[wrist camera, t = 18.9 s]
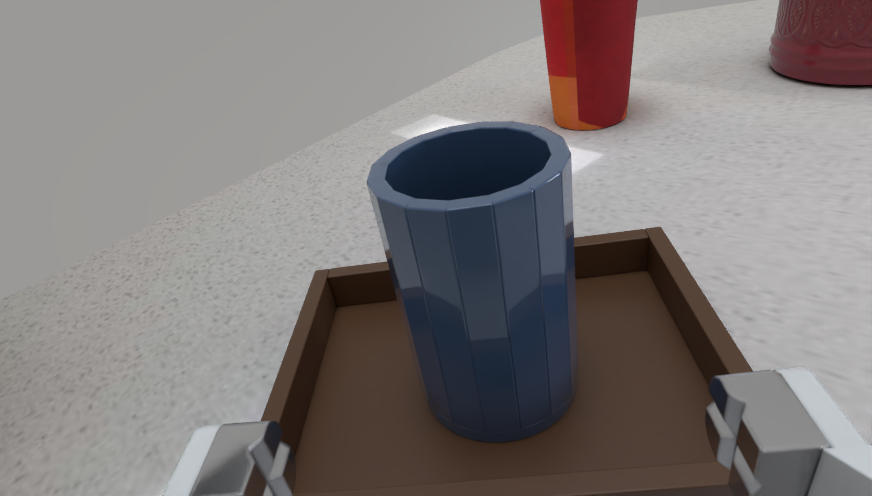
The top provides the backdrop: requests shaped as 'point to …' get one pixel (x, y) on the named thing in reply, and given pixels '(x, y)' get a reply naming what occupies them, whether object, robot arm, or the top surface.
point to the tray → (536, 455)
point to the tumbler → (484, 273)
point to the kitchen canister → (824, 41)
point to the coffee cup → (589, 60)
